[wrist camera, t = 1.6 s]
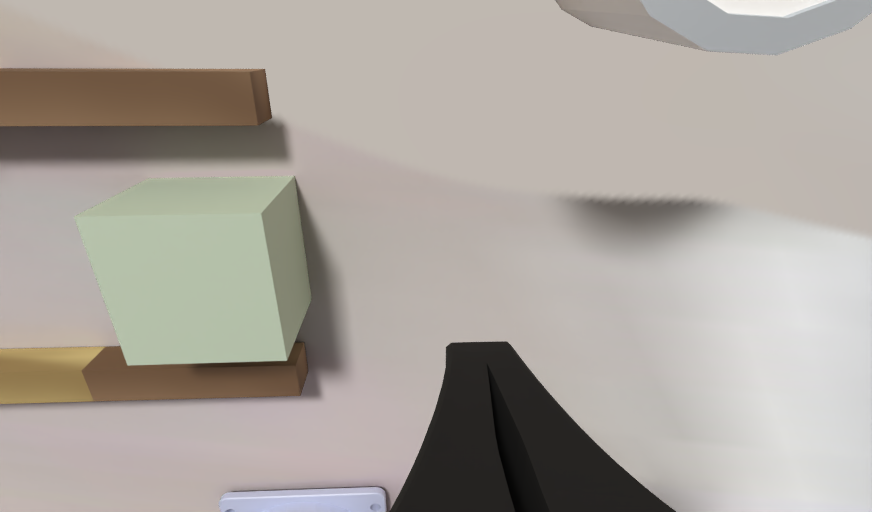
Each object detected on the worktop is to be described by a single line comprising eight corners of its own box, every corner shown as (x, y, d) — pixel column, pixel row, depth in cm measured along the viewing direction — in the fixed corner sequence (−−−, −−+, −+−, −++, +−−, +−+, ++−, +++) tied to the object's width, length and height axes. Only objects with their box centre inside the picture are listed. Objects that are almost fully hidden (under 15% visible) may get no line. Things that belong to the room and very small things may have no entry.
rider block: (312, 297, 18) (286, 360, 15) (184, 300, 18) (127, 365, 14) (295, 174, 16) (261, 213, 13) (150, 177, 16) (74, 216, 12)
